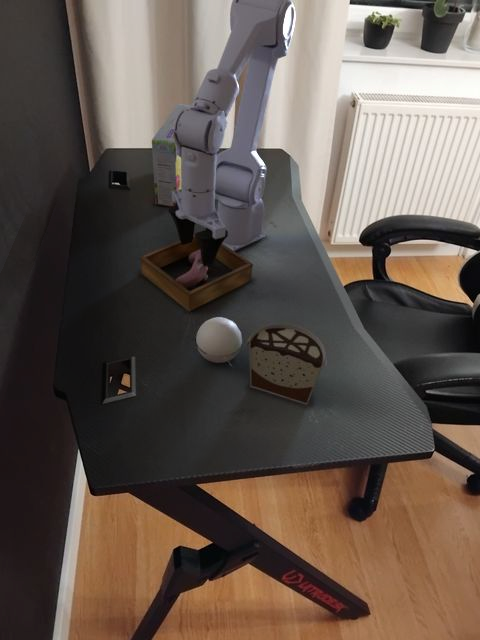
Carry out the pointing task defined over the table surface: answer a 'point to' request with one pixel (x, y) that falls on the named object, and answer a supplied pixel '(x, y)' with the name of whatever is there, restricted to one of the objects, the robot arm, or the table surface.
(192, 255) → the video game controller
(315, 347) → the brown and beige cupcake
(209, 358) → the seamed sphere
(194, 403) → the table surface
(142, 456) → the table surface
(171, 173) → the snack box
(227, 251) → the wooden frame
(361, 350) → the table surface
